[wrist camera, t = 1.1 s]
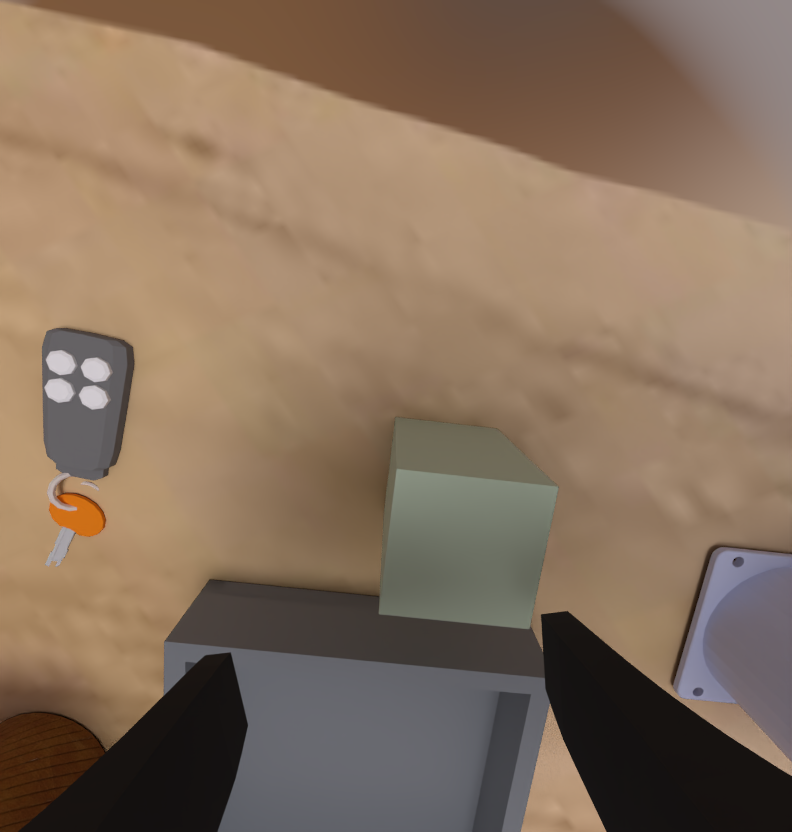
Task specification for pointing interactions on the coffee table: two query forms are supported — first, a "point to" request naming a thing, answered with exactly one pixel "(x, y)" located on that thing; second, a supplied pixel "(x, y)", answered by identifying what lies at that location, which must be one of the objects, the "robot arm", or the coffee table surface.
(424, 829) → the tray
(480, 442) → the block
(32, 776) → the disposable coffee cup
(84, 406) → the key chain
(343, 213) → the coffee table surface
